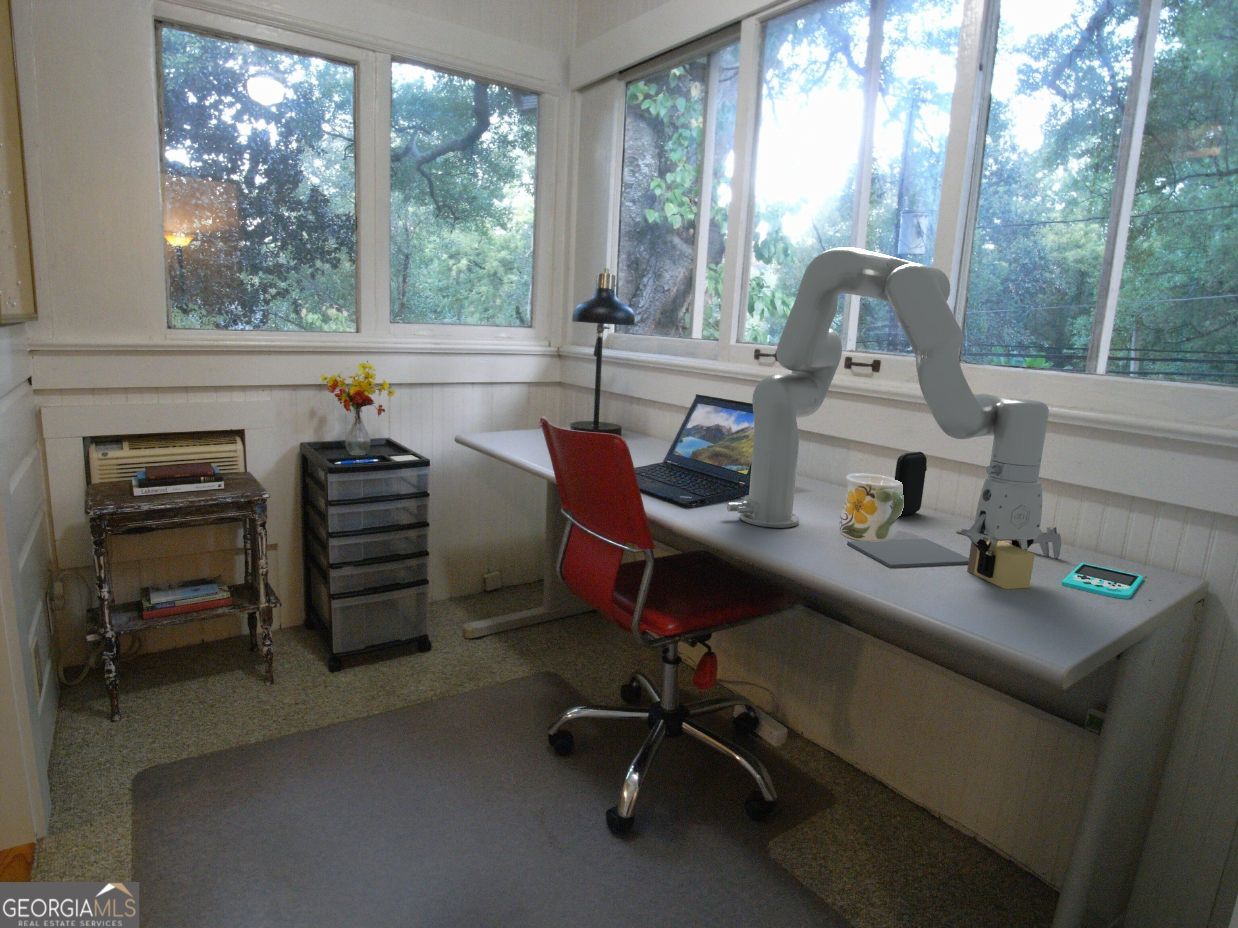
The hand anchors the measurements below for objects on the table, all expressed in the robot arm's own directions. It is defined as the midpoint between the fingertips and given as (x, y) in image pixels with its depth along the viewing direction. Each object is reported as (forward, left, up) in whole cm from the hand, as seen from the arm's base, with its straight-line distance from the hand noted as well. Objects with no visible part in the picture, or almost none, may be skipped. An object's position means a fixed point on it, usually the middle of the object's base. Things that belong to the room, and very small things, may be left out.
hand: (998, 573), depth 130 cm
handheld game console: (+19, -4, -2) cm, 19 cm away
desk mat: (-7, +15, -1) cm, 17 cm away
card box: (0, 0, -1) cm, 1 cm away
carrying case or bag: (+12, +42, -1) cm, 44 cm away
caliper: (+18, +18, -2) cm, 25 cm away
